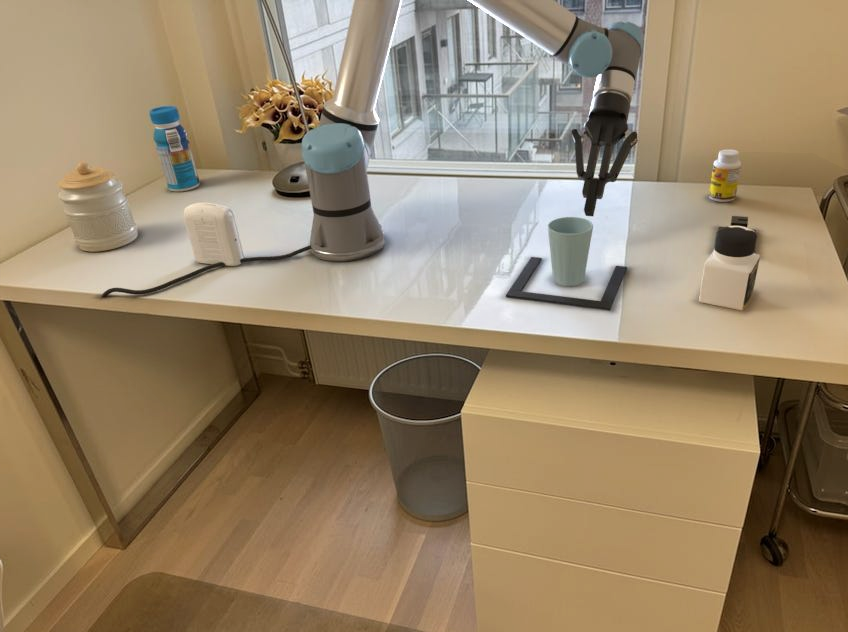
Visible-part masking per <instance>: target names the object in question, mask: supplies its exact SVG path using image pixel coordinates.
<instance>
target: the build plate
mask: <svg viewBox="0 0 848 632" xmlns="http://www.w3.org/2000/svg"><path fill="white" fill-rule="evenodd" d="M729 226H743V227H747V228H748V226H749V216H741V215H731V219H730V225H729ZM723 227H724V226H718V227H717V231H718V230H719V229H721V228H723ZM751 229H752V230H753V231H755V233H756V234H757V229H753V228H751ZM756 252H757V245H756V246H755V251H754V254H757V253H756Z"/></svg>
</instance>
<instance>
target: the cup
mask: <svg viewBox="0 0 848 632" xmlns="http://www.w3.org/2000/svg"><path fill="white" fill-rule="evenodd" d="M593 230H594V224H593V222H592V221H590V220H589V219H586V218H582V217H577V216H564V217H559V218H555V219H552V220H551V221H549V222H548V224H547V234H548V243H549V252H550V264H551V271H552V272H551V273H552V280H553V282H554V283H555V284H556V285H559V286H562V287H577V286H579V285H581V284H583V282H584V281H585V276H586V270H587V264H588V259H589V254H590V247H591V241H592V236H593Z"/></svg>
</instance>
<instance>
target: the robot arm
mask: <svg viewBox="0 0 848 632" xmlns="http://www.w3.org/2000/svg"><path fill="white" fill-rule="evenodd" d="M402 1H403V0H353V5H352V9H351V15H350V19H349V23H348V27H347V32H346V37H345V42H344V45H343V51H342V55H341V59H340V63H339V69H338V73H337V78H336V82H335V87H334V91H333V96H332V97H331V98H330V99H328V100H327V101H324V102H323V106H322V110H321V115H320V119H319V124H318V126H316V127H315V128H313V129H310V130H308V131H307V132H306V133H305V134H304V136H303V137H302V139H301V157H302V161H303V163H304V168H305V173H306V179H307V184H308V191H309V195H310V202H311V207H312V212H313V218H312V223H311V224H312V225H311V230H310V238H309V245H307V246H304V247H301V248H299V249H297V250H294V251H292V252H290V253H286V254H282V255H273V256H272V255H271V256H252V257H244V258H243V259H241V260H240V262H241V264H242V263H250V262H251V263H252V262H263V261H265V262H266V261H267V262H268V261H281V260H286V259H289V258H293V257H295V256H297V255H299V254H302V253H304V252H308V251H311V254H312V255H313V256H314V257H316V258H317V259H320V260H323V261H327V262H351V261H356V260H360V259H361V260H362V259H365V258H367V257H370V256H373V255H374V254H376V253H378V252H380V251H381V250H382V249H383V248H384V247H385V243H386V239H385V232H384V230H383V228H382V225H381V223H380V222H379V219H378V218H377V215H376V214H375V212H374V209H373V207H372V201H371V192H370V185H369V184H370V183H369V178H368V177H369V176H368V167H369V163H370V159H371V155H372V153H373V149H374V142H375V138H376V134H377V130H378V126H379V123H380V118H379V117H378V114H377V113H376V111H375V108H376V104H377V100H378V96H379V93H380V90H381V89H380V88H381V85H382V81H383V78H384V77H383V76H384V74H385V69H386V66H387V65H386V64H387V61H388V56H389V53H390V49H391V45H392V41H393V38H394V33H395V30H396V26H397V21H398V18H399V14H400V9H401V5H402ZM467 1H468V2H470V3H472V4H473V5H474V6H476V7H478V8H479V9H481V10H482V11H483V12H485V13H487V14H489V16H491V17H492V18H494V19H496V20H497V21H499V22H500V23H502V24H503V25H505V26H506V27H508V28H510V29H511V30H513V31H514V32H516V33H517V34H519V35H520V36H522V37H523V38H525V39H526V40H528V41H529V42H530V43H533V44H534V45H536V46H537V47H539V48H540V49H542V50H543V51H544V52H546V53H548V54H549V55H551V56H552V57H554V58H555V59H556V60H558V61H560V62H561V63H563V65H565V66H567V67H568V68H570V69H571V70H572V71H573V73H575V74H577V75H578V76H580V77H583V78H585V79H586V78H588V79H590V78H591V79H592V78H595V77H596V80H595V85H594V90H593V93H592V99H591V103H590V108H589V113H588V117H587V119H586V121H585V122H584V125H583V127H581V128H578V129H577V128H573V129H572V130H571V136H572V139H573V142H574V149H575V169H576V171H575V172H576V175H577V178H578V180H579V181H583V186H582V190H581V191H582V192H581V193H582V198H583V199H585V202H584V207H583V212H584V215H585V216H586V217H594V215H595V210H596V207H597V201H598V200H602V199H603V198H604V192H605V187H606V185H607V184H608V183H615V182H616V181H617V179H618V177H619V175H620V172H621V171H622V168H623V167H624V164H625V162H626V160H627V158H628V156H629V154H630V151H631V150H632V149H633V147H634V146H636V144H637V143H638V142H639V139H638V132H636V131H632V130H630V129H629V125H628V120H629V115H630V109H631V102H632V101H633V95H634V89H635V84H636V77H637V73H638V69H639V65H640V60H641V57H642V53H643V44H644V33H643V30H642V29H641V28H640V27H639V26H638V25H637V24H635V23H633V22H631V21H626V22H624V21H621V20H620V21H616V22H613V23H612V24H610V25H609V26H608V27H607V28H604V27H601V26H598V25H596V24H594V23H591V22H589V21H586V20H583V19H582V18H581V17H579V16H577V15H576V14H575V13H574V12H572V11H570V9H569V10H568V9H567V8H566V7H564V6H563V5H562V4H560V3H559V2H557V1H556V0H467ZM585 135H586V136H587V138H588V140H589V142H590V143H591V144H590V150H589V154H588V159H587V164H586V168H585V163H584V160H585V159H584V147H583V142H584V141H585ZM622 139H623V142H622V144H621V147H620V148H619V150H618V153H617V155H616V157H615V158H614V161H613V163H612V165H611V161H612V156H613V155H612V154H613V152H614V148H615V146H616V145H617V144H618V143H619V142H620V141H621V140H622ZM601 147H604V148H603V153H602V157H601V163H600V167H599V172H598V174H597V176H598V178H594V177H595V172H596V167H597V164H598V158H599V154H600V150H601ZM610 165H611V168H610ZM225 266H226V265H225V263H223V262H219V263H216V264H208V265H206V266H203V267H201V268H199V269H196V270H194V271H192V272H189V273H187V274H185V275H182V276H179V277H176V278H174V279H172V280H169V281H166V282H164V283H162V284H160V285H157V286H153V287H150V288H146V289H139V290H137V289H130V288H124V287H111V288H109V289H108V288H107V290H105V291H104V292H103V293H102V294H101V296H100V298H101V299H105V298H107V297H108V296H109V295H110V294H112V293H123V294H128V295H136V296H137V295H139V296H140V295H147V294H152V293H155V292H158V291H161V290H164V289H166V288H169V287H171V286H173V285H175V284H178V283H180V282H183V281H185V280H188V279H190V278H193V277H195V276H197V275H199V274H202V273H204V272H207V271H209V270H213V269H216V268H220V267H225Z"/></svg>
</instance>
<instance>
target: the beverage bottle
mask: <svg viewBox="0 0 848 632" xmlns="http://www.w3.org/2000/svg"><path fill="white" fill-rule="evenodd" d="M148 113H149V118H150V120H151V123H152V125H153V126H155V127H154V131H153V141H154V143H155V144H156V145H155V151H156V153H157V155H158V158H159V161H160V165H161V168H162V171H163V174H164V177H165V181H166V185H167V188H168V190H169V191H171V192H175V193H177V192H179V193H180V192H187V191H191V190H194V189H196V188H198V187H199V186H200V184H201V181H200V178H199V175H198V171H197V167H196V164H195V163H196V162H195V160H194V155H193V152H192V145H191V142H190V140H189V139H188V133H187V131H186V129H185V128H184V127H183V125H182V124H180V123H179V122H180V121H181V118H180V114H179V110H178V108H177V106H176V105H175V106H174V105H165V106H164V105H163V106H158V107H153V108H151V109H149V111H148Z"/></svg>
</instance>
